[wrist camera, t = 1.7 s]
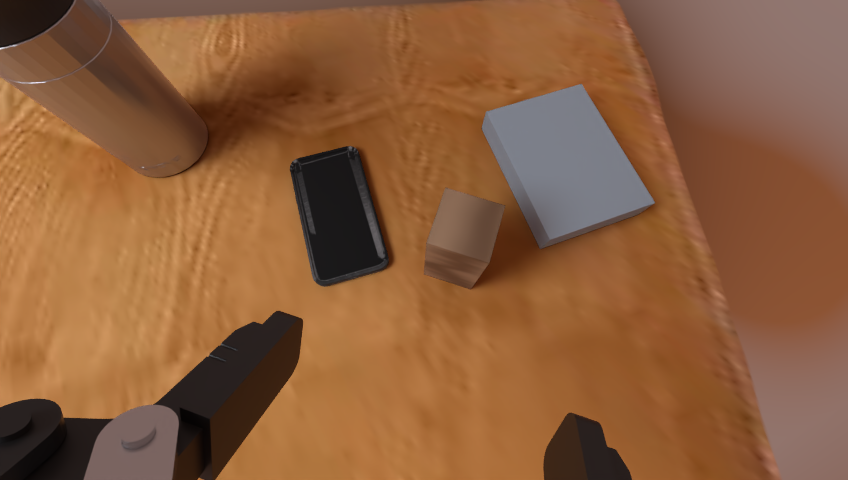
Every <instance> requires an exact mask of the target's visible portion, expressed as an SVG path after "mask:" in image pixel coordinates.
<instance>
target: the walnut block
mask: <svg viewBox="0 0 848 480" xmlns="http://www.w3.org/2000/svg"><path fill="white" fill-rule="evenodd" d="M504 208H505V205H502V204H498V203H495V202H492V201H488V200H485V199H482V198H478V197H475V196H472V195H468V194H465V193H462V192H459V191H455V190H452V189H449V188H445V191H444V193H443V196H442V199H441V202H440V205H439V208H438V211H437V214H436V217H435V220H434V222H433V225H432V228H431V231H430V234H429V237H428V240H427V243H426V255H425V267H424V274H425V275H428V276H431V277H434V278H437V279H440V280H443V281H447V282H450V283H453V284H456V285H459V286H462V287H465V288H468V289H471V288H472V287H473V285H474V284H475V283H476V281H477V280H478V278H479V277H480V275H481V274H482V273H483V271H484V270H485V268H486V267H487V265H488V264H489V262H490V259H491V255H492V252H493V248H494V244H495V241H496V237H497V234H498V230H499V226H500V223H501V219H502V216H503V212H504Z"/></svg>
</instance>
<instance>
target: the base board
mask: <svg viewBox="0 0 848 480" xmlns="http://www.w3.org/2000/svg"><path fill="white" fill-rule="evenodd" d="M482 130H483V132H484V134H485V137H486V139H487V141H488V143H489V145H490V147H491V149H492V151H493V153H494V155H495V157H496V159H497V161H498V163H499V165H500V167H501V169H502V172H503V174H504V176H505V178H506V180H507V182H508V184H509V186H510V188H511V190H512V192H513V194H514V196H515V198H516V200H517V202H518V204H519V207H520V209H521V211H522V213H523V215H524V217H525V219H526V221H527V223H528V225H529V227H530V229H531V231H532V233H533V235H534V237H535V239H536V242H537V244H538V246H539V248H540V249H542V248H545V247H548V246H550V245H553V244H556V243H559V242H562V241H565V240H567V239H570V238H573V237H576V236H579V235H582V234H584V233H587V232H590V231H593V230H596V229H598V228H601V227H604V226H607V225H610V224H613V223H615V222H618V221H621V220H624V219H627V218H630V217H632V216H635V215H638V214H640V213H641V212H643V211H644V210H645V209H647V208H648V207H650V206H651V205H653V204H654V203H655V202H654V200H653V199H652V197H651V195H650V194H649V192H648V191H647V189H646V187H645V186H644V184H643V182H642V181H641V179H640V178H639V176H638V174H637V173H636V171H635V170H634V168H633V166H632V165H631V163H630V161H629V160H628V158H627V157H626V155H625V153H624V152H623V150H622V149H621V147H620V145H619V144H618V142H617V140H616V139H615V137H614V136H613V134H612V132H611V131H610V129H609V128H608V126H607V124H606V123H605V121H604V119H603V118H602V116H601V115H600V113H599V111H598V110H597V108H596V107H595V105H594V103H593V102H592V100H591V98H590V97H589V95H588V94H587V92H586V90H585V89H584V87H583V86H582V84H580V85H576V86H573V87H569V88H566V89H562V90H559V91H556V92H552V93H549V94H545V95H542V96H538V97H535V98H532V99H528V100H525V101H521V102H518V103H515V104H511V105H508V106H504V107H501V108H497V109H494V110H491V111H487V112H486V114H485V118H484V122H483V125H482Z"/></svg>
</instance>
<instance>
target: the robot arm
mask: <svg viewBox="0 0 848 480" xmlns="http://www.w3.org/2000/svg"><path fill="white" fill-rule="evenodd" d="M0 77H2V78H3V79H4V80H6V81H7V82H9V83H10V84H12V85H13V86H14V87H16V88H17V89H19V90H20V91H22V92H23V93H24V94H26V95H27V96H29V97H30V98H32V99H33V100H35V101H36V102H37V103H39V104H40V105H42V106H43V107H45V108H46V109H47V110H49V111H50V112H52V113H53V114H55V115H56V116H57V117H59V118H60V119H62V120H63V121H65V122H66V123H68V124H69V125H70V126H72V127H73V128H75V129H76V130H78V131H79V132H80V133H82V134H83V135H85V136H86V137H88V138H89V139H91V140H92V141H93V142H95V143H96V144H98V145H99V146H101V147H102V148H103V149H105V150H106V151H108V152H109V153H111V154H112V155H114V156H115V157H116V158H118V159H119V160H121V161H122V162H124V163H125V164H127V165H128V166H129V167H131V168H132V169H134V170H135V171H137V172H138V173H140V174H143V175H145V176H150V177H166V176H171V175H174V174H177V173H180V172H182V171H183V170H185V169H187V168H189V167H190V166H191V165H192V164H194V163H195V162H196V161H197V160H198V159H199V157H200V156H201V155H202V153H203V152H204V150H205V148H206V145H207V142H208V131H207V127H206V125H205V123H204V121H203V120H202V119H201V118H200V116H199V115H198V114H197V113H196V112H195V111H194V109H193V108H192V107H191V106H190V105H189V104H188V102H187V101H186V100H185V99H184V98H183V97H182V95H181V94H180V93H179V92H178V91H177V90H176V88H175V87H174V86H173V85H172V84H171V83H170V81H169V80H168V79H167V78H166V77H165V76H164V74H163V73H162V72H161V71H160V70H159V69H158V68H157V66H156V65H155V64H154V63H153V62H152V61H151V59H150V58H149V57H148V56H147V55H146V54H145V53H144V51H143V50H142V49H141V48H140V47H139V46H138V44H137V43H136V42H135V41H134V40H133V39H132V38H131V36H130V35H129V34H128V33H127V32H126V31H125V29H124V28H123V27H122V26H121V25H120V24H119V23H118V21H117V20H116V19H115V18H114V17H113V16H112V14H111V13H110V12H109V11H108V10H107V9H106V8H105V7H104V5H103V4H102V3H101V2H100V1H99V0H0ZM302 328H303V320H302V319H301V318H299V317H296V316H293V315H290V314H287V313H284V312H281V311H276V312H275V313H273V314H272V315H271V316H270V317H269V318H268V319H267V320H266V321H265V322H264V323H263V324H259V323H256V322H252V323H250V324H248V325H246V326H243V327H241V328H239V329H237V330H235V331H234V332H233V333H232V334H231V335H230V336H229V337H228V338H227V339H225V340H224V341H223V342H222V343H221V345H220V346H218V347H217V348H216V349H215V350H213V351H212V352H211V353H210V355H209V357H206V358H205V359H204V360H203V361H202V362H200V363H199V364H198V365H197V366H196V367H195V368H194V369H193V370H192V371H191V372H190V373H188V374H187V375H186V376H185V377H184V378H183V379H182V380H181V381H180V382H179V383H178V384H177V385H175V386H174V387H173V388H172V389H171V390H170V391H169V392H168V393H167V394H166V395H165V396H164V397H162V398H161V399H160V400H159V401H158V402H156V403H155V404H153V405H146V406H141V407H137V408H134V409H131V410H129V411H127V412H124V413H123V414H121V415H119V416H117V417H116V418H115V419H87V418H63V414H62V411H61V408H60V407H59V405H58V404H56V403H55V402H53V401H51V400H46V399H28V400H22V401H18V402H14V403H11V404H8V405H5V406H3V407H0V480H197V479H198V478H202V479H204V480H215V479H216V478H217V476H218V475H219V474H220V472H221V471H222V470H223V468H224V467H225V465H226V464H227V463H228V461H229V460H230V459H231V457H232V456H233V455H234V453H235V452H236V450H237V449H238V448H239V446H240V445H241V444H242V442H243V441H244V440H245V438H246V437H247V435H248V434H249V433H250V431H251V430H252V429H253V427H254V426H255V425H256V423H257V422H258V420H259V419H260V418H261V416H262V415H263V414H264V412H265V411H266V409H267V408H268V407H269V405H270V404H271V403H272V401H273V400H274V399H275V397H276V396H277V394H278V393H279V392H280V390H281V389H282V388H283V386H284V385H285V384H286V382H287V381H288V379H289V378H290V377H291V375H292V373H293V372H294V370H295V368H296V365H297V363H298V360H299V355H300V346H301V337H302ZM544 480H632V478H631V475H630V472H629V470H628V468H627V467H626V465H625V464H624V462H623V460H622V459H621V457H620V456H619V454H618V452H617V451H616V450H615V449H613V448H610V447H607V445H606V441H605V437H604V434H603V430H602V427H601V425H600V423H599V422H597V421H594V420H591V419H588V418H585V417H582V416H579V415H576V414H574V413H568V414H567V415H566V417H565V418H564V420H563V422H562V423H561V425H560V426H559V428H558V430H557V431H556V433H555V435H554V436H553V438H552V439H551V441H550V443H549V444H548V446H547V449H546V452H545V456H544Z"/></svg>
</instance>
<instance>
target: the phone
mask: <svg viewBox="0 0 848 480" xmlns="http://www.w3.org/2000/svg"><path fill="white" fill-rule="evenodd" d="M290 172H291V176H292V181H293V186H294V191H295V195H296V201H297V205H298V210H299V214H300V219H301V224H302V229H303V233H304V238H305V243H306V248H307V252H308V257H309V262H310V267H311V271H312V276H313V279H314V281H315V282H316V283H317V284H319V285H320V286H324V287H325V286H330V285H334V284H337V283H341V282H344V281H348V280H351V279H355V278H358V277H362V276H365V275H369V274H372V273H376V272H379V271H382V270H384V269H385V268H386V267H387V265H388V263H389V257H388V254H387V250H386V247H385V243H384V240H383V236H382V233H381V229H380V226H379V222H378V219H377V215H376V212H375V208H374V205H373V201H372V198H371V194H370V191H369V187H368V184H367V180H366V177H365V173H364V170H363V166H362V162H361V159H360V155H359V152H358V150H357V149H356V148H354V147H352V146H346V147H342V148H338V149H334V150H330V151H326V152H322V153H318V154H314V155H310V156H306V157H301V158H298V159H295V160H294V161H293V162H292V163H291V165H290Z"/></svg>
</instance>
